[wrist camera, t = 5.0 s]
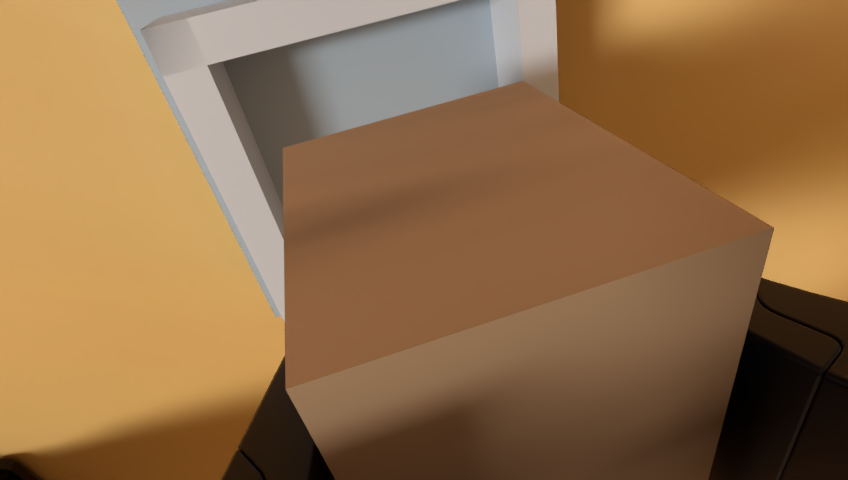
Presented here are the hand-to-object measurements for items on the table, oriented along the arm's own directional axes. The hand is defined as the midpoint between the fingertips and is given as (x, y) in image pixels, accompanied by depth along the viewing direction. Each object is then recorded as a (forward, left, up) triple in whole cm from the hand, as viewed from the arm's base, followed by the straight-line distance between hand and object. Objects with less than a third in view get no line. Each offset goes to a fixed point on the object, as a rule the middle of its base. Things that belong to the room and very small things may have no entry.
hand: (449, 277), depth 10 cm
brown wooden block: (0, 0, -1) cm, 1 cm away
